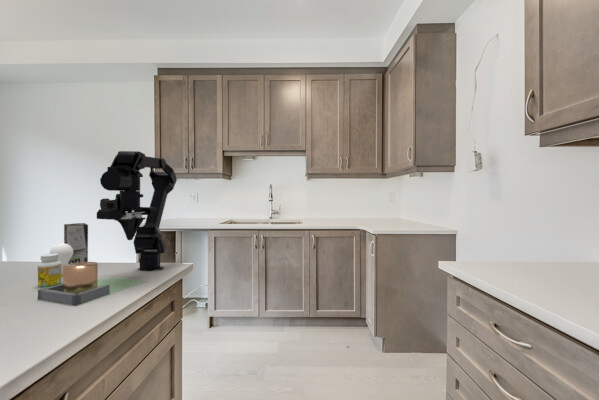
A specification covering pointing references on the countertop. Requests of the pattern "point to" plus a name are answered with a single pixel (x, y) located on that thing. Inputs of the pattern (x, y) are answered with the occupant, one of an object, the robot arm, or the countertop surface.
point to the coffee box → (77, 241)
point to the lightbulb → (62, 254)
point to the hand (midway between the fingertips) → (129, 239)
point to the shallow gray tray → (71, 294)
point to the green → (116, 284)
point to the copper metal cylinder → (80, 277)
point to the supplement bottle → (49, 271)
